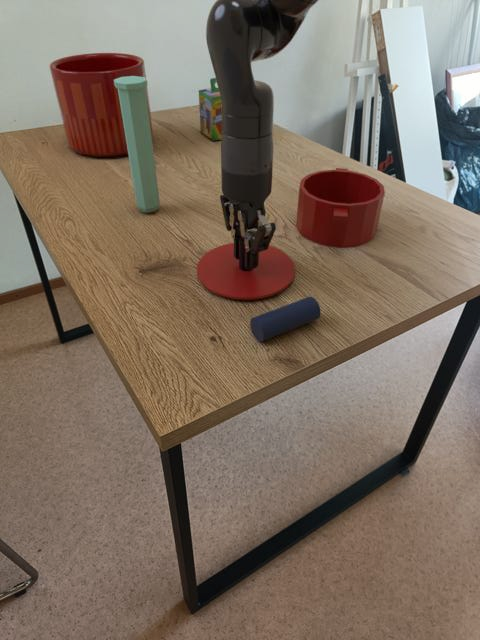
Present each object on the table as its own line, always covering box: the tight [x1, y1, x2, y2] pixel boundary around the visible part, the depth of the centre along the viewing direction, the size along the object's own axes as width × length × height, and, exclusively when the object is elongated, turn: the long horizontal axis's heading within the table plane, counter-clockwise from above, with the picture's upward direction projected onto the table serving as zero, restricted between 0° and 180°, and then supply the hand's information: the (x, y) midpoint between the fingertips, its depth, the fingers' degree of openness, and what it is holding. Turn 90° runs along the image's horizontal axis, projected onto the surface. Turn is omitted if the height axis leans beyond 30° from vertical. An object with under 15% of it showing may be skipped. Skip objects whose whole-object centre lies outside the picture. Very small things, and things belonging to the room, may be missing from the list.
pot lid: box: [196, 237, 296, 301], centre depth 76 cm, size 17×17×7 cm
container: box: [114, 76, 161, 214], centre depth 87 cm, size 6×6×25 cm
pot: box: [295, 167, 386, 248], centre depth 87 cm, size 16×21×8 cm
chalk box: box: [198, 77, 222, 142], centre depth 127 cm, size 9×9×15 cm
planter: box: [49, 52, 154, 158], centre depth 119 cm, size 23×23×20 cm
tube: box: [249, 296, 322, 343], centre depth 66 cm, size 10×4×4 cm, turn 120°
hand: (245, 262), depth 77 cm, fingers open, 3 cm apart
